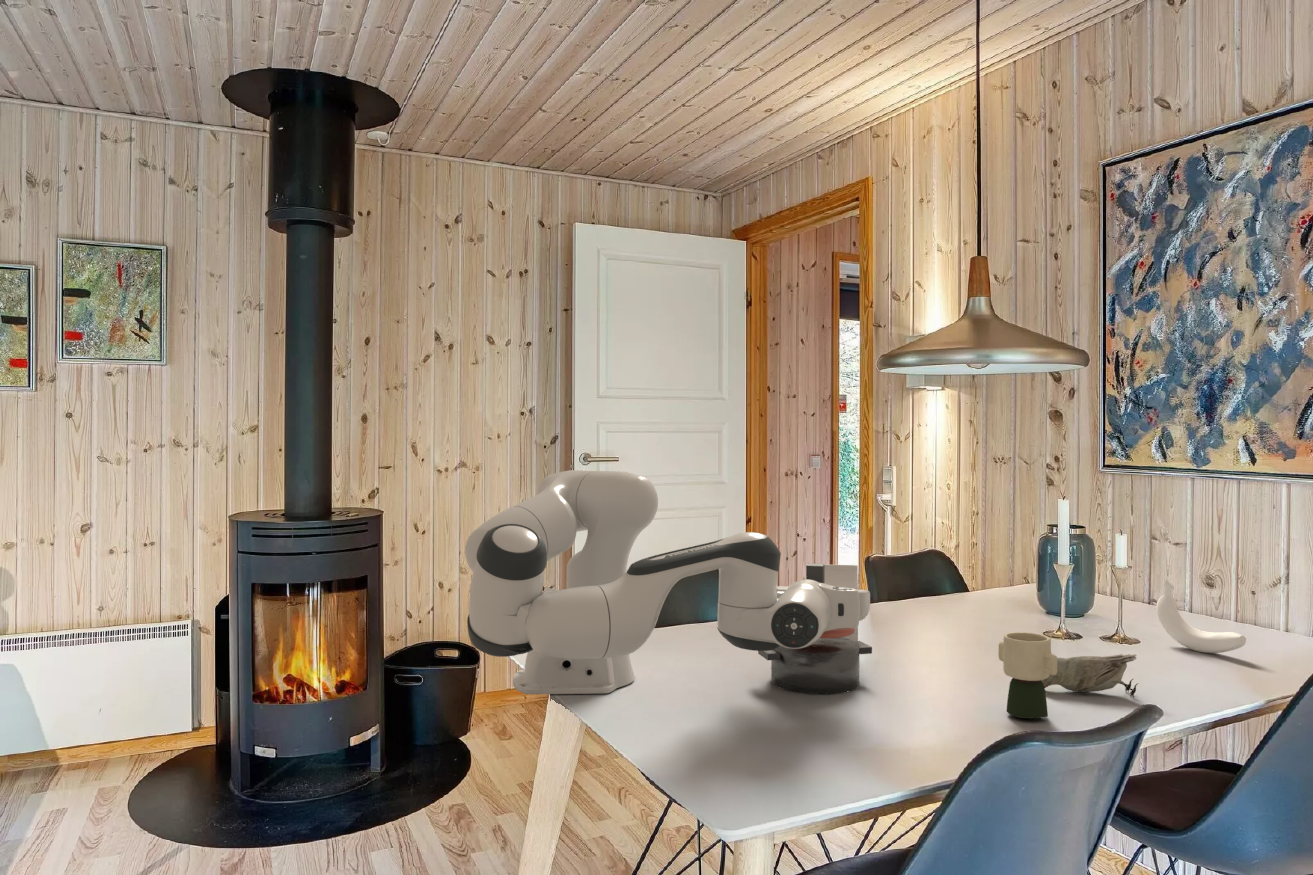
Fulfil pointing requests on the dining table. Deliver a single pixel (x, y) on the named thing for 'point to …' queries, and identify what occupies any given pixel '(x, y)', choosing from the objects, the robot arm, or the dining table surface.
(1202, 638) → the banana
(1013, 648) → the character mug
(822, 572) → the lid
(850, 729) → the dining table surface
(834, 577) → the milk carton
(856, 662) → the pot
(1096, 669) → the decorative bird
